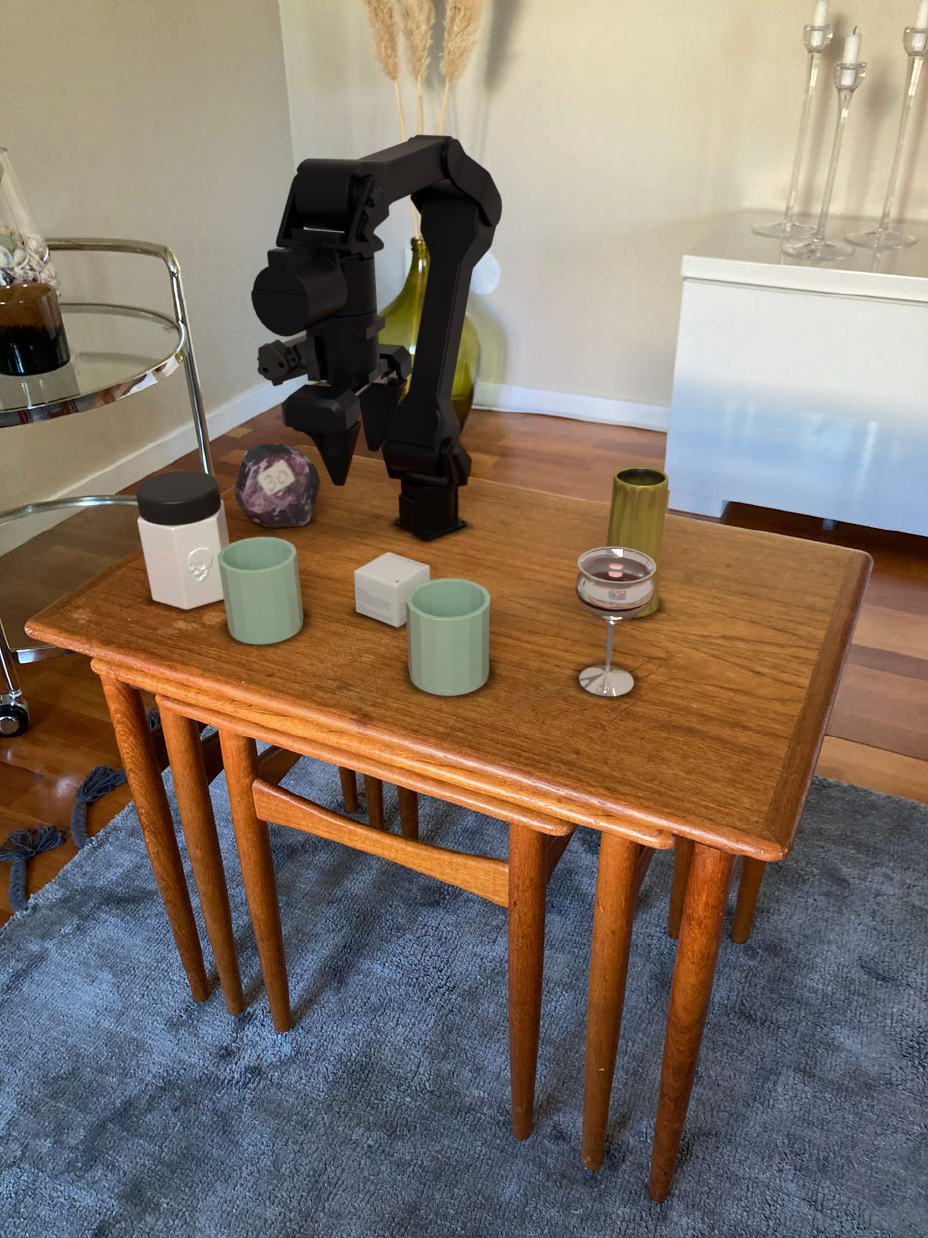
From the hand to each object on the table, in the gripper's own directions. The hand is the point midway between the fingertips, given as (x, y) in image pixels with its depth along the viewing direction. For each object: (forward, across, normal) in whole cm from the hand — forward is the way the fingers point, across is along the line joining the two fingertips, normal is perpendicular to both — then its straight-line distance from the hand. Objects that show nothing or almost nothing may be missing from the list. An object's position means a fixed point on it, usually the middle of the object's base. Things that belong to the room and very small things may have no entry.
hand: (357, 467), depth 97 cm
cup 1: (+13, +11, -6) cm, 18 cm away
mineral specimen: (+14, -12, -16) cm, 24 cm away
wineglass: (+14, +11, +28) cm, 33 cm away
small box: (+14, +4, +5) cm, 15 cm away
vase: (+14, -4, +28) cm, 31 cm away
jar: (+14, +7, -17) cm, 23 cm away
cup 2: (+13, +14, +14) cm, 24 cm away
